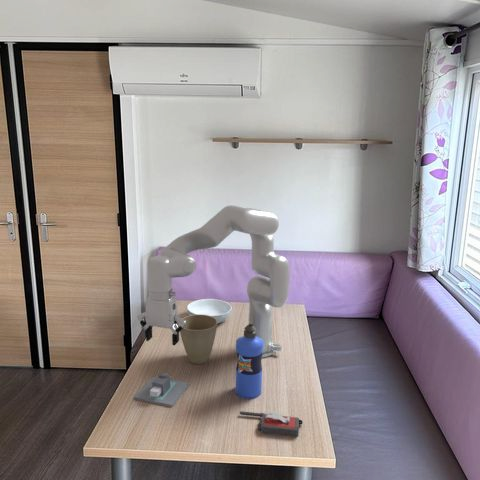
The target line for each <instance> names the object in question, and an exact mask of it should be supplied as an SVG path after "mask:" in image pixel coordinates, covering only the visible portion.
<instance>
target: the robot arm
mask: <svg viewBox="0 0 480 480" xmlns="http://www.w3.org/2000/svg"><path fill="white" fill-rule="evenodd" d="M279 226H280V223H279V218H278V216H277V215H276V214H274V213H272V212H270V211H269V212H268V211H265V210H261V209H257V208H252V207H242V206H241V207H240V206H237V205H226V206H224V207H223V208H222V209H220V211H217V213H216V214H215V215H214V216H213V217H212V218H210V219H209V220H208V221H207V222H206V223H204V224H203V225H202V226H201V227H199V228H197V229H195V230H192V231H191V230H190V231H189V232H187V233H185V234H182V235H180V236H178V237H177V238H175V239H174V240H172V241H171V242H170V243H169V244H167V245H166V246H165V248H163V250H162V251H160V254H159V255H154V256H151V257H149V258H148V260H147V263H146V266H147V285H148V296H147V297H146V303H145V311H144V312H141V313H139V314H138V315H137V319H138V321H139V324H140V325H141V326H142V327H143V330H144V333H145V334H144V335H145V341H146V342H149V341H150V340H151V339H152V338H153V327H156V328H163V329H170V330H171V332H172V335H171V337H172V338H171V340H172V343H171V344H172V346H175V345H177V344H178V343H179V342H180V331H181V330H182V329H183V328H184V326H185V324H186V321H185V320H183V319H182V318H183V317H180V316H179V313H178V305H177V301H176V298H175V296H176V295H177V293H176V292H175V291H173V284H172V283H173V282H172V280H173V278H174V279H175V278H185V277H188V276H190V275H192V274H193V273H194V272H195V270H196V267H197V263H196V260H195V259H194V257H192V256H191V255H190V254H189V253H191V252H194V251H197V250H206V249H207V250H209V249H211V248H216V247H217V246H219V245H220V244H221V243H222V242H223V241H225V239H226V238H227V237H229V236H230V235H231V234H232V233H233V232H235V231H236V232H239V233H244V234H248V235H249V236H250V239H251V269H252V270H253V272H254V273H256V274H258V275H256V276H253V277H251V278H250V279H249V281H248V283H247V285H246V293H247V299H248V324H252V325H253V326H254V327H255V328H256V337H259V338H261V339H262V340H263V342H264V344H263V353H262V358H268V357H271V356H273V355H274V354H275V352H276V351H277V352H282V346H281V343H275V341H274V339H273V337H272V336H273V314H274V313H273V312H274V310H273V307H274V308H282V307H284V305H286V303H287V301H288V299H289V294H290V293H289V292H290V277H291V276H290V275H291V268H290V263H289V261H288V259H287V258H286V257H284V256H283V255H281V254H277V253H275V249H274V246H275V244H274V243H275V239H274V234H275V233H276V232H277V230H278V229H279ZM179 323H180V326H179Z"/></svg>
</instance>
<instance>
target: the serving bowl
mask: <svg viewBox="0 0 480 480" xmlns="http://www.w3.org/2000/svg"><path fill="white" fill-rule="evenodd" d="M232 309H233V307H232V305H231V304H230V303H229V302H227V301H225V300H221V299H217V298H202V299H197V300H194V301H191V302H190V303H188V304H187V306H186V310H187V313H188V316H190V315H197V314H202V315H209V316H212V317H214V318H215V319H216V320H217V324H220V323H223V322H225V321H226V320H227V319H229V317H230V316H231V313H232Z"/></svg>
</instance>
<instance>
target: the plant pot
mask: <svg viewBox="0 0 480 480" xmlns="http://www.w3.org/2000/svg"><path fill="white" fill-rule="evenodd" d="M181 318H182V319H183V320H185V321H186V324H185V326H184V328H183V329H182V330H181V331H180V332H179V335H180V337H181V342H182V345H183V348H184V351H185V354H186V357H187V358H188V361H189V362H190V363H192V364H194V365H195V364H196V365H200V364H204V363H207V361H209V359H210V356H211V352H212V350H213V346H214V343H215V338H216V334H217V328H218V323H217V320H216V319H215V318H214V317H212V316H209V315H202V314H197V315H190V316H189V315H187V316H184V317H181ZM179 326H180V323H178V327H179Z"/></svg>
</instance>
